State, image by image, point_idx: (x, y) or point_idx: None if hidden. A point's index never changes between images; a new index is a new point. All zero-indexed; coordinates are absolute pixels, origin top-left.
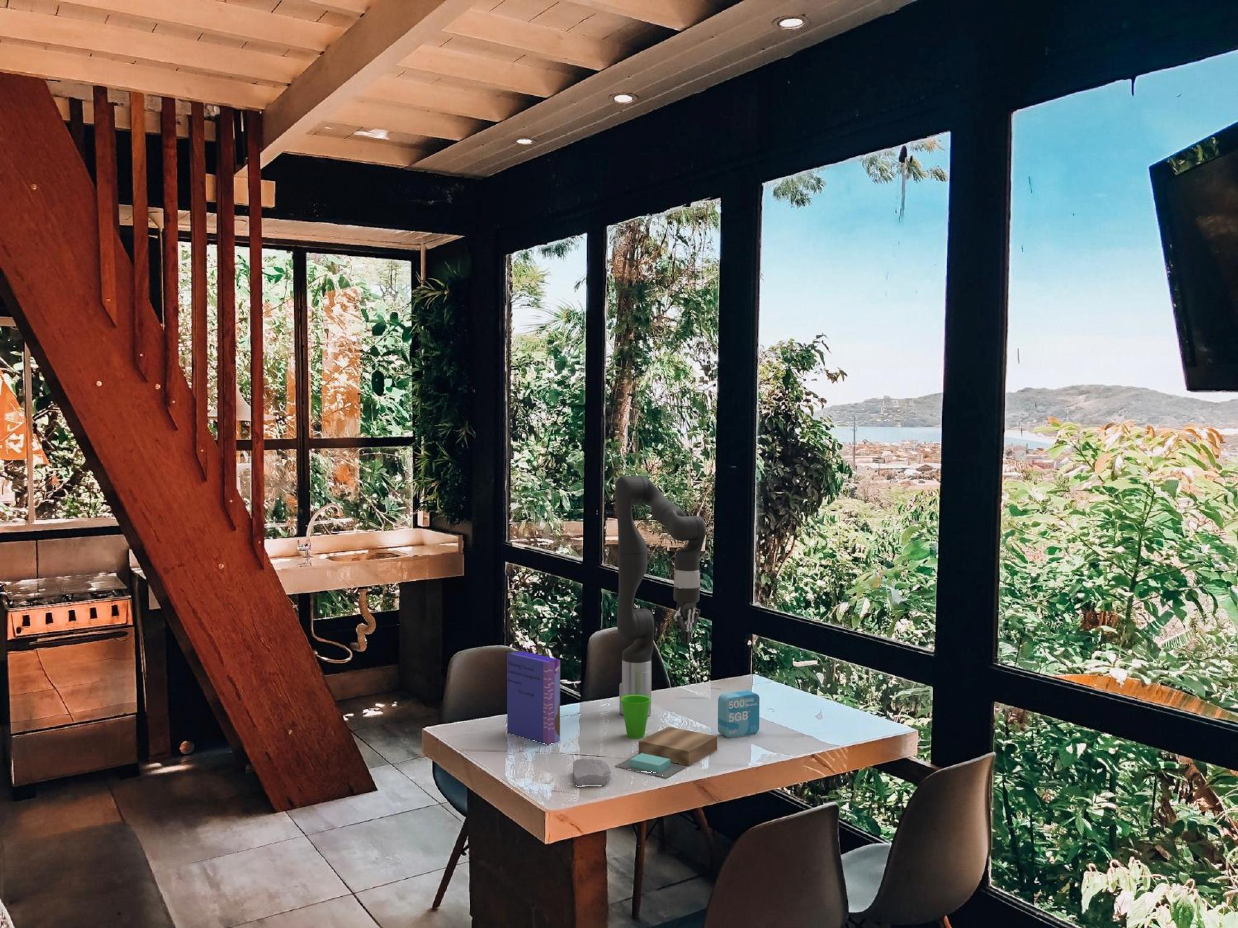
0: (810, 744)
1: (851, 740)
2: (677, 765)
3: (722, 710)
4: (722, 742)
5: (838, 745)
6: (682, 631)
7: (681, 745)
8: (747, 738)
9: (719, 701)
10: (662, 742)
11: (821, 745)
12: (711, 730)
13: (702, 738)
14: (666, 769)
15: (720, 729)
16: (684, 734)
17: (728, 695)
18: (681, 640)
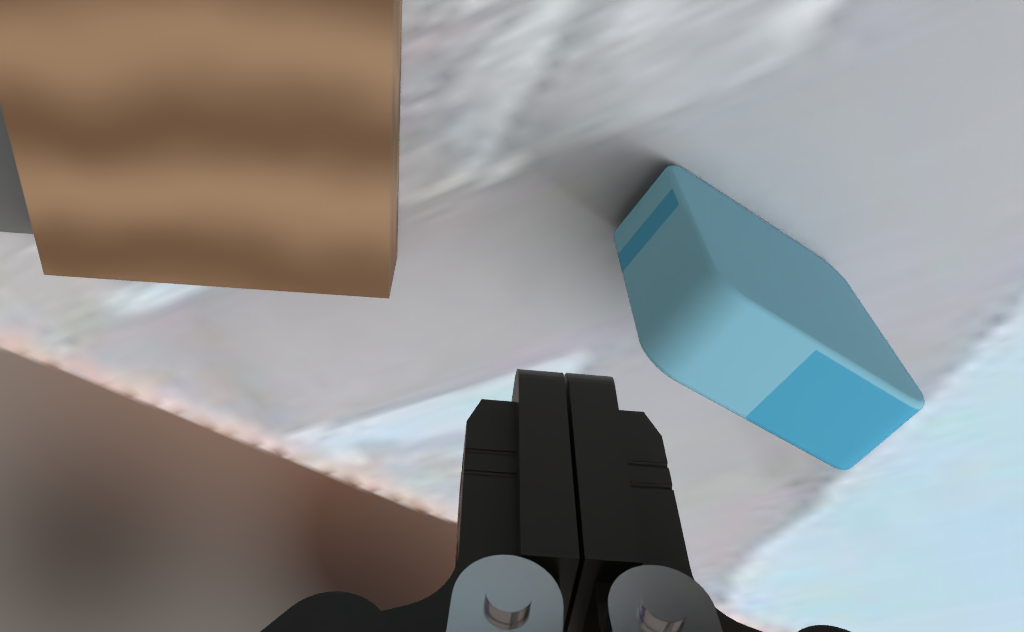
0: (689, 533)
1: (801, 618)
2: None
3: (655, 275)
4: (534, 231)
5: (719, 602)
6: (443, 606)
7: (99, 198)
8: None
9: (692, 274)
10: (55, 71)
11: (693, 563)
12: (729, 91)
13: (297, 247)
14: None
15: (649, 196)
16: (297, 124)
17: (721, 352)
18: (468, 427)
